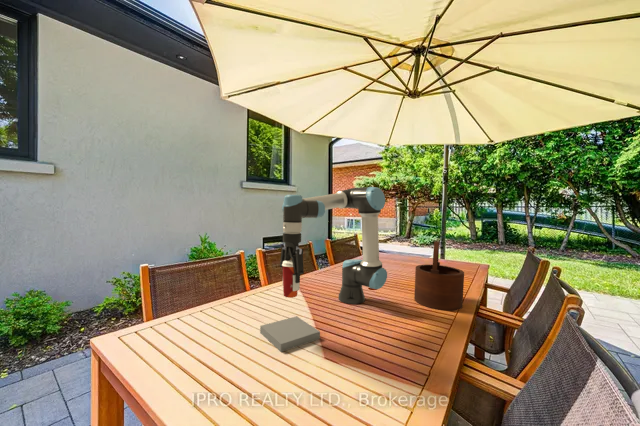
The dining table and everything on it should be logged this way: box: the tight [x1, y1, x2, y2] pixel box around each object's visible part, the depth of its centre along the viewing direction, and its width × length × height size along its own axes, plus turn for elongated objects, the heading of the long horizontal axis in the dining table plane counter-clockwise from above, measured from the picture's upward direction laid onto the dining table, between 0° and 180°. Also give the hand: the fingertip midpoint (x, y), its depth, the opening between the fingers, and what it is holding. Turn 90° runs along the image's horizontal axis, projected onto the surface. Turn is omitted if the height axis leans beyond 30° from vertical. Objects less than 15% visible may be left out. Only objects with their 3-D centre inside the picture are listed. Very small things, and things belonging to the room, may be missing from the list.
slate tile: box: [259, 316, 321, 353], centre depth 114 cm, size 18×18×3 cm
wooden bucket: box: [413, 241, 465, 312], centre depth 159 cm, size 26×26×35 cm
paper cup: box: [282, 259, 299, 299], centre depth 113 cm, size 8×8×14 cm
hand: (290, 287), depth 113 cm, fingers closed on paper cup, 8 cm apart
